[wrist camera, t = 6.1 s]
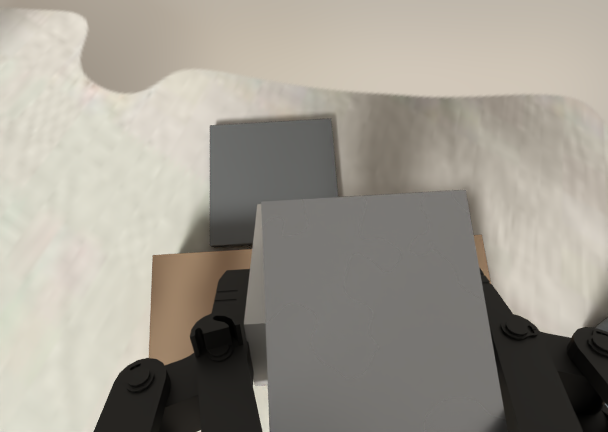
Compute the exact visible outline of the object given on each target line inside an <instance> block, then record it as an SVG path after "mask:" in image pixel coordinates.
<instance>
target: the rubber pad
mask: <svg viewBox="0 0 608 432" xmlns="http://www.w3.org/2000/svg"><path fill="white" fill-rule="evenodd" d="M333 197H338V190H337V179H336V168H335V156H334V145H333V134H332V123H331V119H313V120H296V121H279V122H262V123H244V124H227V125H210V246H211V247H226V246H242V245H253V239H254V230H255V221H256V212H257V204H261V202H264V201H281V200H298V199H316V198H333Z"/></svg>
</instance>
